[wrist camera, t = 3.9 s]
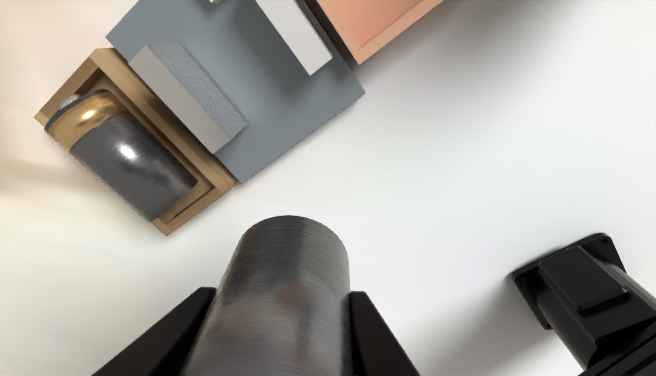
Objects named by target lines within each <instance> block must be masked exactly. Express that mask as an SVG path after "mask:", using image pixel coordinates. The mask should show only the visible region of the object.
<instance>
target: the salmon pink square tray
mask: <svg viewBox="0 0 656 376" xmlns="http://www.w3.org/2000/svg"><path fill="white" fill-rule="evenodd" d="M442 1H443V0H317V2H318V3H319V5H320V6H321V8H322V9H323V11H324V12H325V14H326V15H327V17H328V18H329V20H330V22H331V23H332V25H333V26H334V28H335V29H336V31H337V32H338V34H339V35H340V37H341V38H342V40H343V41H344V43H345V44H346V46H347V47H348V49H349V50H350V52H351V54H352V55H353V57H354V58H355V60H356V61H357V63H358V64H359V65H360V64H361V63H362V62H364V61H365V60H366V59H368V58H369V57H370V56H372V55H373V54H374V53H375V52H377V51H378V50H379V49H381V48H382V47H383V46H385V45H386V44H387V43H388V42H390V41H391V40H392V39H394V38H395V37H396V36H398V35H399V34H400V33H402V32H403V31H404V30H405V29H407V28H408V27H409V26H411V25H412V24H413V23H415V22H416V21H417V20H418V19H420V18H421V17H422V16H424V15H425V14H426V13H428V12H429V11H430V10H432V9H433V8H434V7H435V6H437V5H438V4H439V3H441V2H442Z"/></svg>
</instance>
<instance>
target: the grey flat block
mask: <svg viewBox="0 0 656 376" xmlns="http://www.w3.org/2000/svg"><path fill="white" fill-rule="evenodd" d="M105 38H106V39H107V40H108V41H109V42H110V43H111V44H112V45H113V46H114V47H115V48H116V49H117V50H118V51H119V53H120V54H121V55H122V56H123V57H124V58H125V59H126V60H127V61H128V62H130V61H131V59H132V58H133V57H134V56H135V55H136V54H137V53H138V52H139V51H140V50H141V49H142V48H143V47H144V46H145V45H153V44H177V43H179V44H180V45H181V46H182V47H183V48H184V50H185V51H186V52H187V53H188V54H189V55H190V57H191V58H192V59H193V60H194V61H195V62H196V64H197V65H198V66H199V67H200V68H201V69H202V71H203V72H204V73H205V74H206V75H207V77H208V78H209V79H210V80H211V81H212V82H213V84H214V85H215V86H216V87H217V88H218V89H219V91H220V92H221V93H222V94H223V95H224V97H225V98H226V99H227V100H228V101H229V102H230V104H231V105H232V106H233V107H234V108H235V109H236V111H237V112H238V113H239V114H240V115H241V117H242V118H243V119H244V120H245V121H246V122H247V125H246V126H245V127H244V128H243V129H242V130H241V131H240V132H238V133H237V134H236V135H235V136H234V137H233V138H232V139H231V140H230V141H229V142H227V143H226V144H225V145H224V146H222V147H221V148H220V149H219V150H217V151H216V152H215V153H214V155H215V156H216V157H217V158H218V159H219V160H220V161H221V162H222V163H223V164H224V165H225V166H226V167H227V169H228V170H229V171H230V172H231V173H232V174H233V175H234V176H235V177H236V178H237V179H238V180H239V181H240V182H241V184H242V183H243V182H245V181H246V180H248V179H249V178H250V177H252V176H253V175H254V174H256V173H257V172H259V171H260V170H261V169H263V168H264V167H265V166H267V165H268V164H269V163H271V162H272V161H274V160H275V159H276V158H278V157H279V156H280V155H282V154H283V153H284V152H286V151H287V150H289V149H290V148H291V147H293V146H294V145H295V144H297V143H298V142H300V141H301V140H302V139H304V138H305V137H306V136H308V135H309V134H310V133H312V132H313V131H315V130H316V129H317V128H319V127H320V126H321V125H323V124H324V123H326V122H327V121H328V120H330V119H331V118H332V117H334V116H335V115H336V114H338V113H339V112H341V111H342V110H343V109H345V108H346V107H347V106H349V105H350V104H352V103H353V102H354V101H356V100H357V99H358V98H360V97H361V96H362V95H364V94H365V91H364V89H363V87H362V86H361V84H360V83H359V81H358V80H357V78H356V77H355V75H354V74H353V72H352V71H351V69H350V68H349V66H348V65H347V63H346V62H345V60H344V59H343V57H342V56H341V54H340V53H339V51H338V50H337V49H336V47H335V46H334V44H333V43H332V41H331V40H330V38H329V37H328V35H327V34H326V32H325V31H324V29H323V28H322V26H321V25H320V23H319V22H318V20H317V19H316V17H315V16H314V14H313V13H312V11H311V10H310V8H309V7H308V5H307V4H306V2H305V1H304V0H139V1H138V2H137V3H136V4H135V5H134V6H133V7H132V8H131V10H130V11H129V12H128V13H127V14H126V15H125V16H124V17H123V18H122V19H121V21H120V22H119V23H118V24H117V25H116V26H115V27H114V28H113V29H112V30H111V32H110V33H109V34H108V35H107V36H106V37H105Z"/></svg>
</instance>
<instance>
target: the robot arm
mask: <svg viewBox="0 0 656 376" xmlns="http://www.w3.org/2000/svg"><path fill="white" fill-rule="evenodd" d="M520 277H521V278H520ZM512 279H513V281H514V283H515V284H516V286H517V287H518V289H519V290H520V292H521V294H522V295H523V297H524V298H525V300H526V301H527V303H528V305H529V306H530V308H531V309H532V311H533V313H534V314H535V316H536V317H537V319H538V320H539V322H540V324H541V325H542V326H543V328H544V329H546V330H551V329H554V331H555V332H556V333H557V335H558V336H559V337H560V339H561V340H562V341H563V343H564V344H565V346H566V347H567V348H568V350H569V351H570V352H571V354H572V355H573V357H574V358H575V359H576V361H577V362H578V363H579V365H580V366H581V368H582V369H583V370H584V372H582V373H581V374H579V375H578V376H656V298H655V297H654V296H652V295H651V294H650V293H649V292H648V291H646V290H645V289H644V288H643V287H642V286H640V285H639V284H638V283H637V282H635V281H634V280H633V279H632V278H631V277H629V276H628V275H627V273H626V271H625V268H624V266H623V264H622V262H621V259H620V257H619V255H618V253H617V250H616V248H615V246H614V244H613V241H612V239H611V238H610V237H609V236H608V235H606V234H605V233H597V234H595V235H593V236H590V237H588V238H586V239H584V240H582V241H580V242H578V243H575V244H573V245H571V246H569V247H567V248H565V249H562V250H560V251H558V252H556V253H554V254H552V255H550V256H547V257H545V258H543V259H541V260H539V261H537V262H534V263H532V264H530V265H528V266H526V267H524V268H522V269H519V270H517V271H515V272H514V273H513V274H512ZM216 291H217V289H216V288H214V287H201V288H199V289H197V290H196V291H195V292H194V293H192V294H191V295H190V296H189V297H188V298H186V299H185V300H184V301H183V302H181V303H180V304H179V305H178V306H176V307H175V308H174V309H173V310H172V311H170V312H169V313H168V314H167V315H165V316H164V317H163V318H162V319H160V320H159V321H158V322H157V323H156V324H154V325H153V326H152V327H151V328H149V329H148V330H147V331H146V332H145V333H143V334H142V335H141V336H140V337H138V338H137V339H136V340H135V341H133V342H132V343H131V344H130V345H129V346H127V347H126V348H125V349H124V350H122V351H121V352H120V353H119V354H117V355H116V356H115V357H114V358H113V359H111V360H110V361H109V362H108V363H106V364H105V365H104V366H103V367H102V368H100V369H99V370H98V371H97V372H95V373H94V374H93V375H92V376H178V374H179V372H180V370H181V368H182V365H183V363H184V361H185V359H186V357H187V354H188V352H189V350H190V348H191V346H192V343H193V341H194V339H195V337H196V335H197V332H198V330H199V328H200V326H201V324H202V321H203V319H204V317H205V315H206V313H207V310H208V308H209V306H210V304H211V302H212V300H213V297H214V295H215V293H216ZM350 306H351V322H352V337H353V347H354V356H355V371H356V376H421V375H420V374H419V372H418V371H417V369H416V368H415V366H414V365H413V363H412V362H411V360H410V359H409V357H408V356H407V354H406V353H405V351H404V350H403V348H402V347H401V345H400V344H399V342H398V341H397V339H396V338H395V336H394V335H393V333H392V332H391V330H390V329H389V327H388V325H387V324H386V322H385V321H384V319H383V318H382V316H381V315H380V313H379V312H378V310H377V309H376V307H375V306H374V304H373V303H372V301H371V300H370V298H369V297H368V295H367V294H366V293H365V292H364V291H351V292H350Z"/></svg>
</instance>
